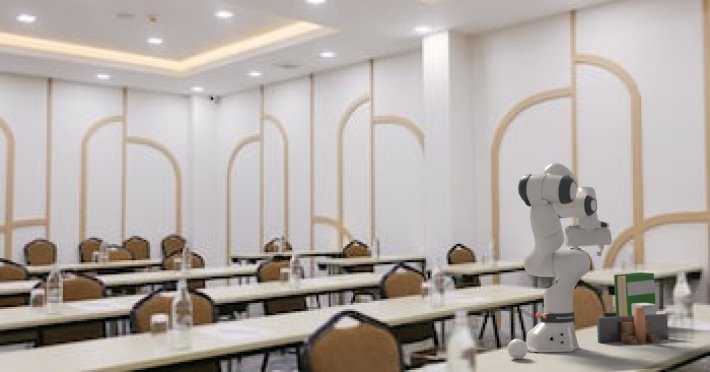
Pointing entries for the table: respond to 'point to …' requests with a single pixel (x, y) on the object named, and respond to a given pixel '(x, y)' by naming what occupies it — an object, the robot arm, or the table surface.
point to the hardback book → (633, 291)
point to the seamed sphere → (517, 349)
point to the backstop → (611, 325)
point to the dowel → (640, 324)
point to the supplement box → (645, 308)
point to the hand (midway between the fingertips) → (589, 256)
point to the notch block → (629, 333)
